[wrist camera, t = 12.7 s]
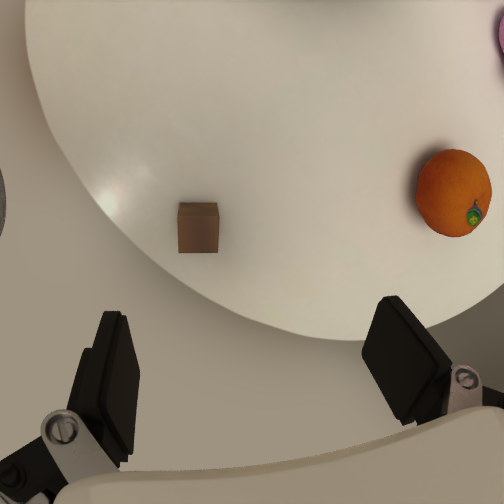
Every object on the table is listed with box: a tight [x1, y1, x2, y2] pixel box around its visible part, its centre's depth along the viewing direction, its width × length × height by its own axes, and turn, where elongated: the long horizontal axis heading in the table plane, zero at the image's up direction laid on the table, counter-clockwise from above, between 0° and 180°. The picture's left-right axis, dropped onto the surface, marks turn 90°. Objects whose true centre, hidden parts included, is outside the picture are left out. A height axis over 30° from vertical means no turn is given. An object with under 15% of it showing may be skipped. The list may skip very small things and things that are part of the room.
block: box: [178, 203, 219, 253], centre depth 31 cm, size 4×4×4 cm
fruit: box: [416, 149, 492, 237], centre depth 31 cm, size 11×10×8 cm
